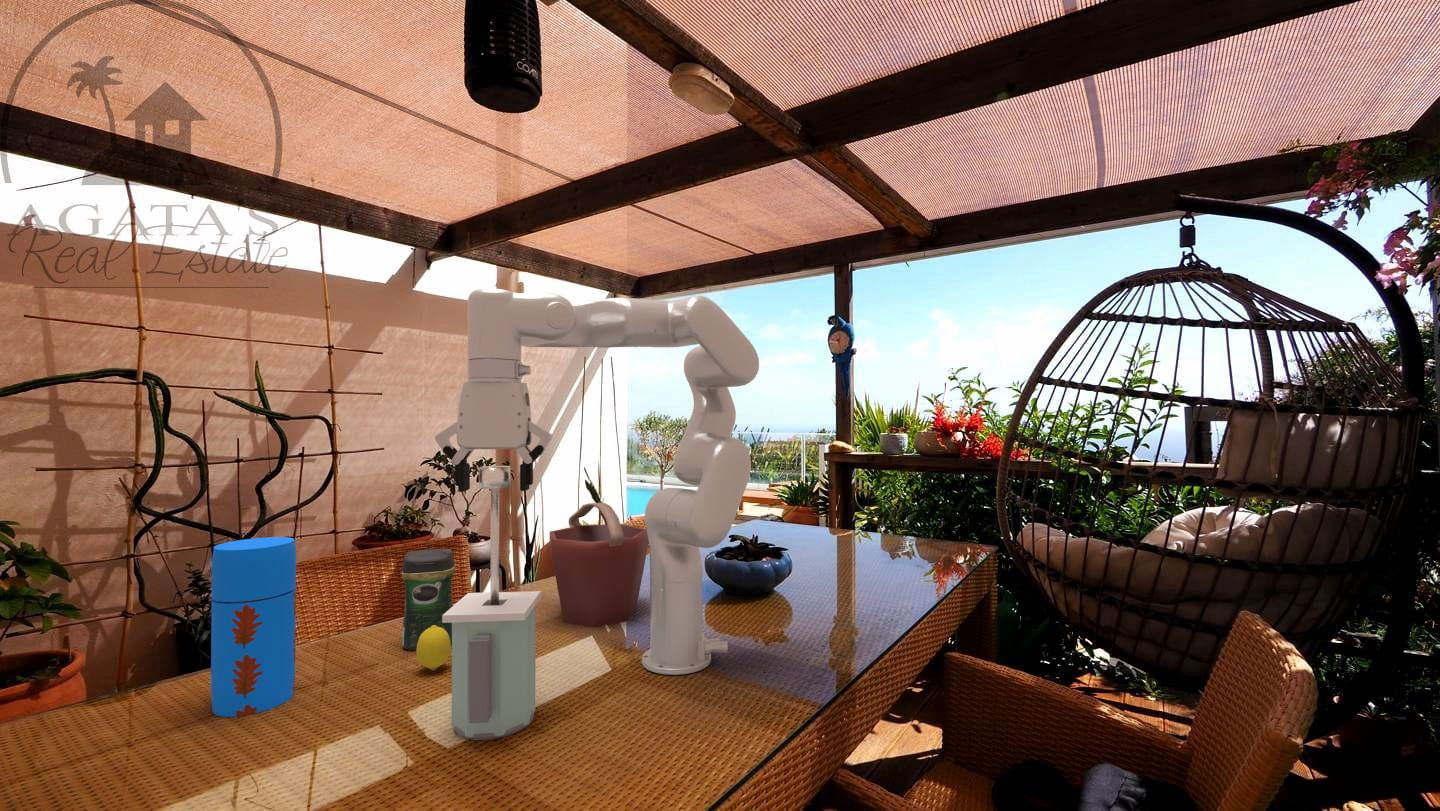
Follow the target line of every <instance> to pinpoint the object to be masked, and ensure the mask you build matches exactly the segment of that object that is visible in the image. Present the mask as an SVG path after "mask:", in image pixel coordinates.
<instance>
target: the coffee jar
mask: <svg viewBox="0 0 1440 811" xmlns="http://www.w3.org/2000/svg"><path fill="white" fill-rule="evenodd" d="M455 570H456V566H455V559H454V553H453V550H452V549H451V548H435V549H433V548H431V549H422V550H421V549H420V550H412V551H408V552H407V553H406V554H405V555H404V557H403V561H402V568H401V578H402V581H403V583H404V591H405V596H404V598H405V599H404V600H405V601H404V613H403V623H402V634H401V645H402V647H403V648H404V649H406V650H416V649H417V643H418V640H419V637H420V635H421V634H422V633H423V632H424V631H425V630H426V629H428V628H430V627H431V626H432V625H436V626H437V627H441V628H443V629H444V630H445V631H446V632H447V633H448V635H449V638H450V643H452V622H450V623H442V615H443V614H445V613H446V612H447V611H448V610H449V609H450V608H451V607H453V606H454V605H453V597H452V596H453V595H452V578H453V576H454V574H455Z"/></svg>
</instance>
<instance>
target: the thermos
mask: <svg viewBox="0 0 1440 811" xmlns="http://www.w3.org/2000/svg"><path fill="white" fill-rule="evenodd" d="M211 558H212V559H211V622H210V624H211V634H210V636H211V639H210V640H211V641H210V642H211V643H210V644H211V646H210V648H211V649H210V651H211V654H210V657H211V659H210V691H211V692H210V693H211V708H212V710H211V712H212V714H214V715H216V716H219V717H225V718H229V717H231V718H232V717H243V716H248V715H253V714H254V715H255V714H259V713H261V712H265V711H268V710H271V709H273V708H276V707H279V706H281V705H283V704H285V703H286V702H288V701H289V700H291V698H292V697H293V696H294V694H295V682H296V681H295V680H296V678H295V677H296V640H297V639H296V638H297V637H296V630H297V628H296V622H297V619H296V618H297V616H296V615H297V614H296V612H297V610H296V608H297V606H296V602H297V600H296V599H297V595H296V594H297V592H296V591H297V585H296V584H297V583H296V582H297V573H296V572H297V549H296V542H295V539H294V538H292V537H287V536H272V537H271V536H270V537H269V536H268V537H257V538H246V539H239V540H233V541H229V542H224V543H219V544H217V545H215V546H213V551H212V557H211Z"/></svg>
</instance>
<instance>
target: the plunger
mask: <svg viewBox="0 0 1440 811" xmlns="http://www.w3.org/2000/svg"><path fill="white" fill-rule="evenodd" d="M510 487H511V466H510V465H488V466H487V465H486V466H480V467H478V488H479V489H483V490H487V489H488V490H490V592H491V595H490V606H494V605H499V592H500V489H507V488H510Z"/></svg>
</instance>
